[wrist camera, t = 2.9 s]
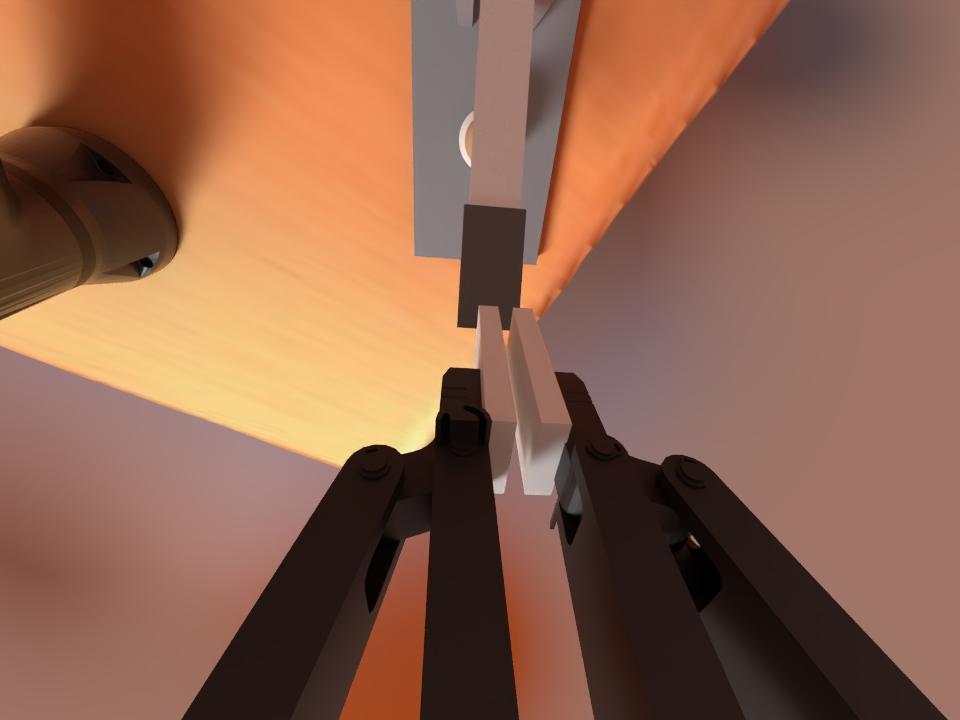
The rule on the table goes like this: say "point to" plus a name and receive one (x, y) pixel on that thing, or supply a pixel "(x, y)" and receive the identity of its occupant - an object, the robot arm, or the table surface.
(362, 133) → the table surface
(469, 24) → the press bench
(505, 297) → the press lever
